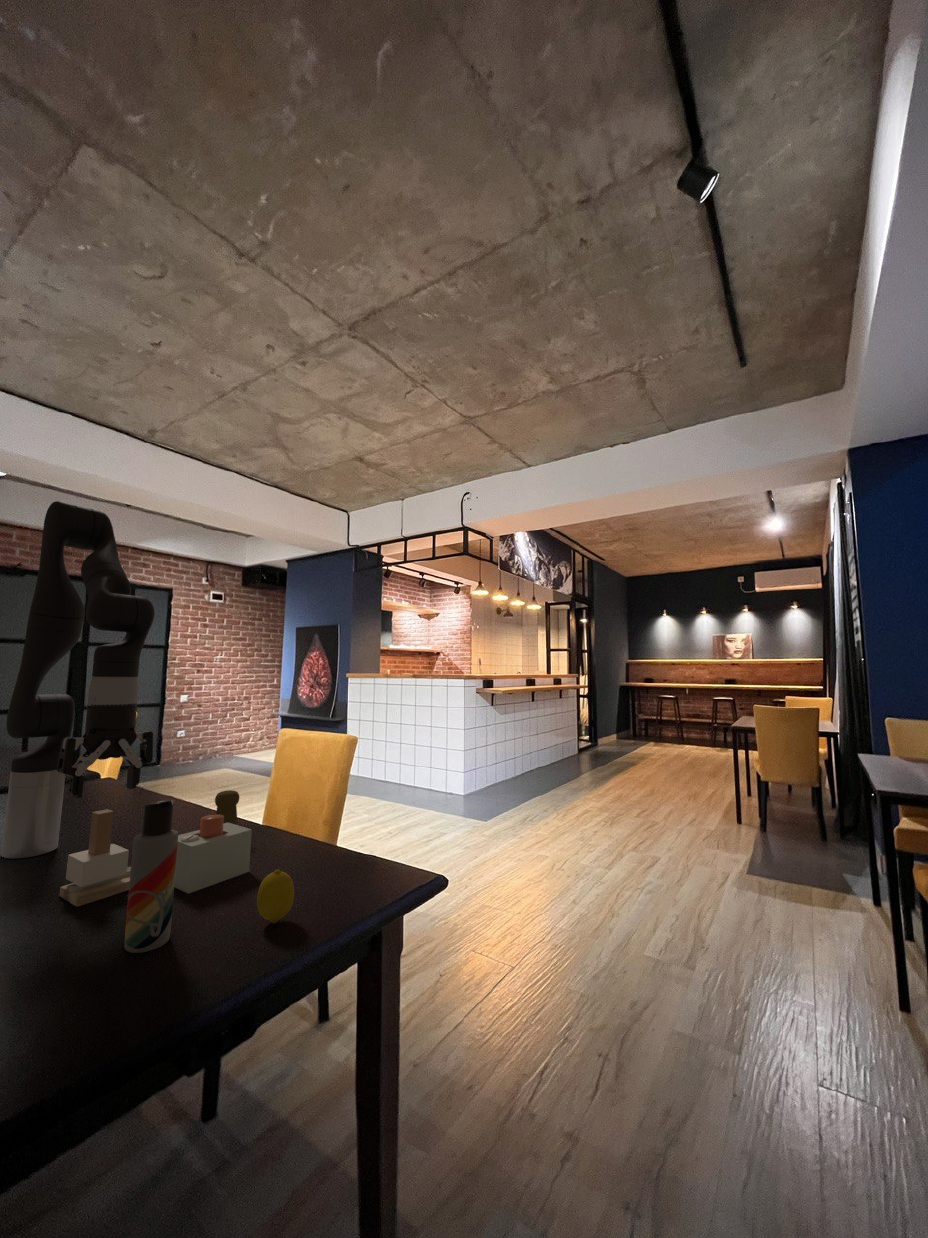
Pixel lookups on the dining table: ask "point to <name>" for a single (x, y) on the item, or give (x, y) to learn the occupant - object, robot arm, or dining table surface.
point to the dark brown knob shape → (227, 805)
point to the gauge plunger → (211, 826)
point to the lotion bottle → (152, 880)
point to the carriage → (98, 854)
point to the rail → (95, 890)
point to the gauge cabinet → (211, 857)
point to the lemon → (275, 896)
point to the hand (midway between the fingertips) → (104, 793)
